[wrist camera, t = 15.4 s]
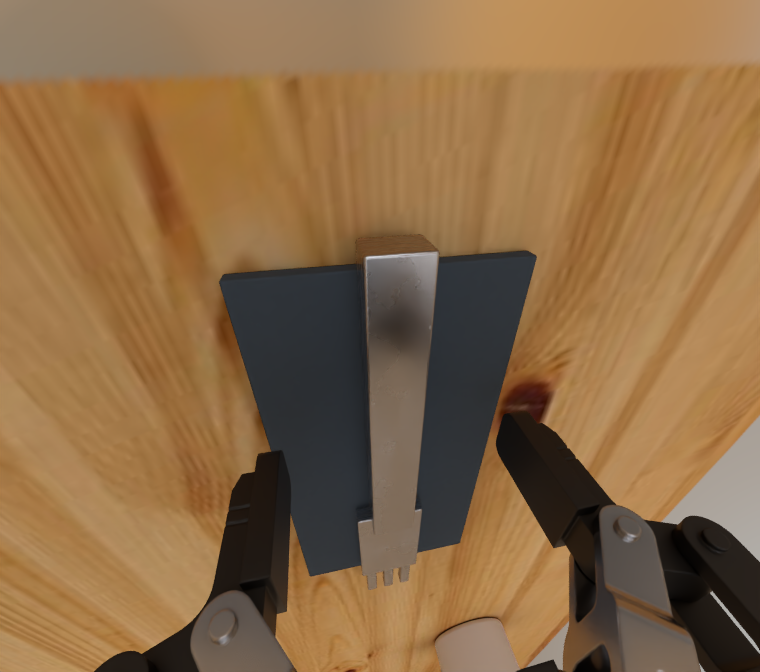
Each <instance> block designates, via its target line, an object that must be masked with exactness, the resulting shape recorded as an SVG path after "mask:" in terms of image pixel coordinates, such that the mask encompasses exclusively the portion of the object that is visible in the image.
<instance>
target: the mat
mask: <svg viewBox="0 0 760 672" xmlns="http://www.w3.org/2000/svg"><path fill="white" fill-rule="evenodd" d="M536 258H537V256H536V255H534V254H532V253H531V252H529V251H517V252H504V253H492V254H479V255H466V256H453V257H440V258H439V264H438V274H437V285H436V295H435V306H434V316H433V326H432V337H431V347H430V358H429V368H428V379H427V389H426V399H425V410H424V420H423V431H422V441H421V451H420V462H419V472H418V483H417V493H416V496H418V497H419V500H420V504H421V507H422V515H421V523H420V532H419V540H418V549H417V553H418V552H422V551H427V550H431V549H436V548H440V547H445V546H449V545H453V544H458V543H460V540H461V536H462V533H463V529H464V525H465V521H466V518H467V514H468V510H469V507H470V503H471V499H472V495H473V492H474V488H475V484H476V481H477V477H478V473H479V469H480V466H481V462H482V458H483V455H484V451H485V447H486V444H487V440H488V436H489V432H490V429H491V425H492V421H493V418H494V414H495V410H496V406H497V403H498V399H499V395H500V392H501V388H502V384H503V380H504V377H505V373H506V369H507V366H508V362H509V358H510V355H511V351H512V347H513V343H514V340H515V336H516V332H517V329H518V325H519V321H520V317H521V314H522V310H523V306H524V303H525V299H526V295H527V291H528V288H529V284H530V280H531V277H532V273H533V269H534V265H535V262H536ZM219 284H220V287H221V290H222V293H223V297H224V300H225V303H226V306H227V310H228V313H229V316H230V319H231V323H232V326H233V329H234V332H235V335H236V339H237V342H238V345H239V348H240V352H241V355H242V358H243V361H244V365H245V368H246V371H247V374H248V377H249V381H250V384H251V387H252V390H253V394H254V397H255V400H256V403H257V407H258V410H259V413H260V416H261V419H262V423H263V426H264V429H265V432H266V436H267V439H268V442H269V445H270V449H271V452H272V451H278V450H282V451H283V454H284V458H285V461H286V465H287V468H288V472H289V476H290V482H291V516H292V520H293V523H294V526H295V529H296V533H297V536H298V539H299V542H300V545H301V549H302V552H303V555H304V558H305V562H306V565H307V568H308V571H309V575H310V576H315V575H320V574H324V573H329V572H333V571H338V570H342V569H347V568H351V567H355V566H360V565H361V559H360V548H359V538H358V527H357V517H356V508H357V507H362V506H368V505H369V495H368V476H367V457H366V437H365V418H364V399H363V379H362V360H361V341H360V321H359V302H358V282H357V264H350V265H337V266H324V267H312V268H299V269H286V270H273V271H260V272H247V273H234V274H224V275H223V276H222V278H221V279H220V281H219Z"/></svg>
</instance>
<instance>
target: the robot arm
mask: <svg viewBox="0 0 760 672" xmlns="http://www.w3.org/2000/svg"><path fill="white" fill-rule="evenodd" d="M496 447H497V451H498V454H499V456H500V458H501V460H502V461H503V463H504V465H505V467H506V468H507V470H508V472H509V473H510V475H511V477H512V478H513V480H514V482H515V483H516V485H517V487H518V489H519V490H520V492H521V494H522V495H523V497H524V499H525V500H526V502H527V504H528V506H529V507H530V509H531V511H532V512H533V514H534V516H535V517H536V519H537V521H538V523H539V524H540V526H541V528H542V529H543V531H544V533H545V534H546V536H547V538H548V539H549V541H550V543H551V545H552V546H553V548H557V547H561V546H565V545H566V546H567V548H568V549H569V551H570V556H569V627H568V632H567V635H566V639H565V643H564V651H563V670H558V668H557V666H556V664H555V662H554V660H550V661H547V662H544V663H540V664H537V665H534V666H530V667H527V668H524V669H520V670H517V671H516V672H701V669H700V665H701V666H702V668H703V669H704V671H705V672H760V654H759V653H758V652H757V650H756V649H755V648H754V647H753V646H752V644H751V643H750V642H749V641H748V639H747V638H746V637H745V636H744V634H743V633H742V632H741V631H740V629H739V628H738V627H737V626H736V625H735V623H734V622H733V621H732V620H731V619H730V617H729V616H728V615H727V614H726V612H725V611H724V610H723V609H722V607H721V606H720V605H719V604H718V603H717V601H716V600H715V599H714V598H713V596H712V595H711V594H710V592H712V591H713V592H714V593H715V595H716V596H717V597H718V598H719V600H720V601H721V602H722V603H723V604H724V606H725V607H726V608H727V609H728V610H729V612H730V613H731V614H732V615H733V616H734V618H735V619H736V620H737V621H738V622H739V624H740V625H741V626H742V627H743V629H744V630H745V631H746V632H747V633H748V635H749V636H750V637H751V638H752V639H753V641H754V642H755V643H756V645H757V646H758V648H759V650H760V562H759V561H758V560H757V559H756V558H755V557H754V556H753V555H752V554H751V553H750V552H749V551H748V550H747V549H746V548H745V547H744V546H743V545H742V544H741V543H740V542H739V541H738V540H737V539H736V538H735V537H734V536H733V535H732V534H731V533H730V532H729V531H727V530H726V529H725V528H723V527H722V526H720V525H719V524H717V523H715V522H713V521H711V520H709V519H706V518H703V517H699V516H689V517H686V518H685V519H683V520H682V522H681V523H679V524H678V525H677V524H669V523H663V522H655V521H648V520H643V519H642V518H641V517H640V516H639V515H637V514H636V513H635V512H633V511H631V510H629V509H627V508H625V507H622V506H619V505H616V504H615V503H614V502H613V501H612V500H611V499H610V498H609V497H608V495H607V494H606V493H605V492H604V491H603V489H602V488H601V487H600V486H599V484H598V483H597V482H596V481H595V480H594V478H593V477H592V476H591V475H590V473H589V472H588V471H587V470H586V469H585V467H584V466H583V465H582V464H581V462H580V461H579V460H578V459H576V458H575V455H574V454H573V453H572V451H571V450H570V449H569V448H567V445H566V444H565V443H564V442H563V440H562V439H561V438H560V437H559V436H558V434H557V433H556V432H554V431H553V430H551V429H550V428H549V427H547V426H546V425H544V424H543V423H540V424H537V422H536V421H535V420H534V419H533V417H532V416H531V415H530V414H529V413H528V412H527V411H519V412H513V413H507V414H505V415H504V416H503V418H502V422H501V425H500V429H499V432H498V435H497V439H496ZM290 513H291V482H290V476H289V472H288V468H287V465H286V461H285V458H284V454H283V451H282V450H278V451H272V452H266V453H260V454H258V456H257V461H256V468H255V472H252V473H246V474H242V475H241V477H240V478H239V480H238V482H237V483H236V485H235V487H234V488H233V490H232V494H231V499H230V504H229V512H228V514H227V519H226V527H225V529H224V534H223V539H222V544H221V549H220V554H219V559H218V564H217V569H216V574H215V579H214V584H213V588H212V591H211V594H210V596H209V598H208V600H207V602H206V604H205V606H204V607H203V609H202V610H201V611H200V613H199V614H198V615H197V616H196V617H195V618H194V619H193V621H192V622H190V623H189V624H188V625H187V626H186V627H184V628H183V629H182V630H180V631H179V632H177V633H175V634H174V635H172V636H170V637H169V638H167V639H166V640H164V641H162V642H161V643H159V644H157V645H156V646H154V647H152V648H151V649H149V650H148V651H146V652H144V653H143V654H140V653H139V652H136V651H126V652H122V653H120V654H117V655H115V656H113V657H112V658H110V659H108V660H107V661H106V662H104V663H103V664H102V665H101V666H100V667H98V668H97V669H96V670H95V671H94V672H297V671H296V669H295V668H294V666H293V665H292V663H291V661H290V660H289V658H288V657H287V655H286V654H285V652H284V650H283V649H282V647H281V646H280V644H279V643H278V641H277V639H276V638H275V633H276V616H277V614H279V613H283V612H287V593H288V567H289V540H290ZM699 663H700V665H699Z"/></svg>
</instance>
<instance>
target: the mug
mask: <svg viewBox="0 0 760 672" xmlns="http://www.w3.org/2000/svg"><path fill="white" fill-rule="evenodd" d="M435 648H436V652H437V656H438V660H439V664H440V668H441V672H516V671H517V670H520V668H519V666H518V663H517V661H516V658H515V656H514V653H513V651H512V648H511V646H510V643H509V640H508V638H507V635H506V633H505V630H504V628H503V625H502V623H501V622H500V620H498V619H495V618H482V619H476V620H472V621H469V622H466V623H463V624H460V625H458V626H455V627H453V628H451V629H449V630H447V631H446V632H444V633H443V634H441V635H440V636H439V637H438V638H437V639H436V641H435Z"/></svg>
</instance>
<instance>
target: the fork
mask: <svg viewBox="0 0 760 672" xmlns="http://www.w3.org/2000/svg"><path fill="white" fill-rule="evenodd" d="M355 244H356V263H357V282H358V302H359V321H360V341H361V360H362V379H363V399H364V418H365V437H366V457H367V476H368V495H369V505H368V506H362V507H357V508H356V517H357V527H358V538H359V548H360V559H361V568H362V575H363V576H364V575H367V584H368V590H371V589H375V588H377V576H376V573H377V572H382V571H383V581H384V586H388V585H392V584H393V569H395V568H399V571H398V574H399V579H400V582H405V581H408V578H409V568H410V565H412V564H416V557H417V549H418V540H419V532H420V523H421V515H422V507H421V504H420V500H419V497H418V496H416V493H417V483H418V472H419V462H420V451H421V441H422V431H423V420H424V410H425V399H426V389H427V379H428V368H429V358H430V347H431V337H432V326H433V316H434V306H435V295H436V285H437V274H438V264H439V250H438V249H437V248H435V247H434V246H433V245H432V244H431V243H430V242H429V241H428V240H427V239H426V238H425V237H424V236H423V235H420V234H418V235H403V236H388V237H372V238H358V239H356V242H355Z"/></svg>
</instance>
